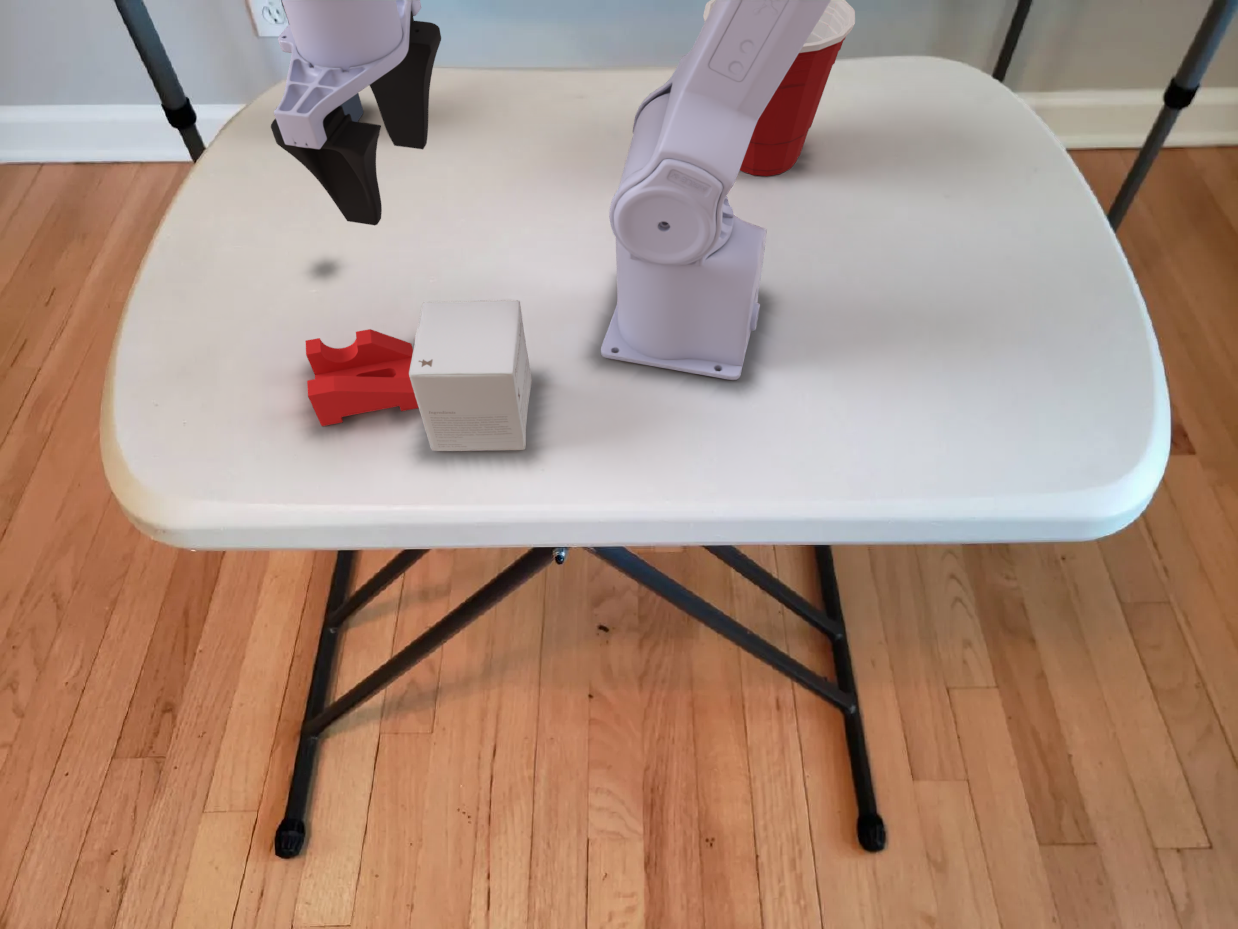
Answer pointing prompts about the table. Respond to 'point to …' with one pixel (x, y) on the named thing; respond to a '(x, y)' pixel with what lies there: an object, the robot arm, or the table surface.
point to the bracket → (360, 376)
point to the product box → (472, 375)
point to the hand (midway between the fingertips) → (388, 180)
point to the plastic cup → (796, 95)
